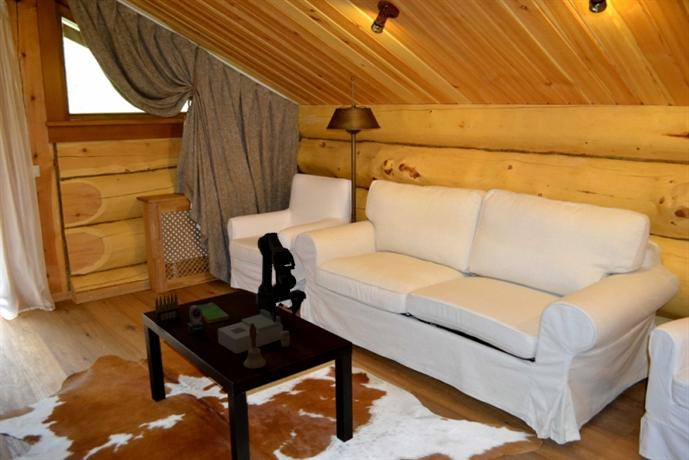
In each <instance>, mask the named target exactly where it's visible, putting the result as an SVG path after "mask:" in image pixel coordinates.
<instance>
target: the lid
mask: <svg viewBox="0 0 689 460" xmlns="http://www.w3.org/2000/svg"><path fill="white" fill-rule="evenodd" d="M281 321H282V320H281V317H280V316H279V315H276V322H275V323H274V322H273V320H272V318H271V315H270V313H269V312H268V311H266V310H264V309H261V310H260V315H257V314H256V315H253V316H250V317H247V318H242V319H241V322H242V323H244V324H246V325H248V326H251V323H254V325H255V327H256V330H257V331H262V330H265V329H269V328H272V327H275V326H278V325H282V323H281Z"/></svg>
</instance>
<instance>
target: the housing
mask: <svg viewBox="0 0 689 460" xmlns="http://www.w3.org/2000/svg"><path fill="white" fill-rule="evenodd" d="M283 329H284V328H283V324H281V325H278V326H275V327H272V328H269V329H265V330H262V331H257V330H256V331H257V335H256V347H257V348H260V347H261V346H264V345H267V344H271V343H274V342H278V341H279V340H280V341H281V332H282V331H284V330H283ZM249 330H250V326H248V325H246V324H244V323H242V321H240V322H236V323H235V324H231V325H227V326H223V327H219V328H217V340H218V343H217V344H220V345H221V346H223V347H224V348H225V349H227V350H229V351H231V352H232V353H234V354H239V353H243V352H246V351H247V352H248V351H249V350H250V349H252V340H251V337H250V331H249Z"/></svg>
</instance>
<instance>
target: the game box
mask: <svg viewBox="0 0 689 460" xmlns="http://www.w3.org/2000/svg"><path fill="white" fill-rule="evenodd" d="M196 306H197V307H199V309H201V311H202V312H203V313H202V316H201V319H203V320H204V321H205V322H206V324H213V323H218V322H223V321H228V320H229V319H230V316H229V314H227V313H226V312H225V311H224V310H223V309H222V308H220V307H219V306H218V305H217V304H216V303H214V302H209V303H204V304H198V305H196Z"/></svg>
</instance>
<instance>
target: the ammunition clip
mask: <svg viewBox="0 0 689 460" xmlns="http://www.w3.org/2000/svg"><path fill="white" fill-rule="evenodd" d="M162 298H163V299H162ZM154 308H155V309H154V310H155V324H156V325H159V323H160V324H163V322H164V323H167V321H168V322H171V321H174V320H175V319H176V320H179V319H181V313H180V308H179V300H178V294H177V293H174V295H173V293H171V295H170V296H169V294H167V296H165V295H163V297H162V296H159V299H158V297H155V307H154Z"/></svg>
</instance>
